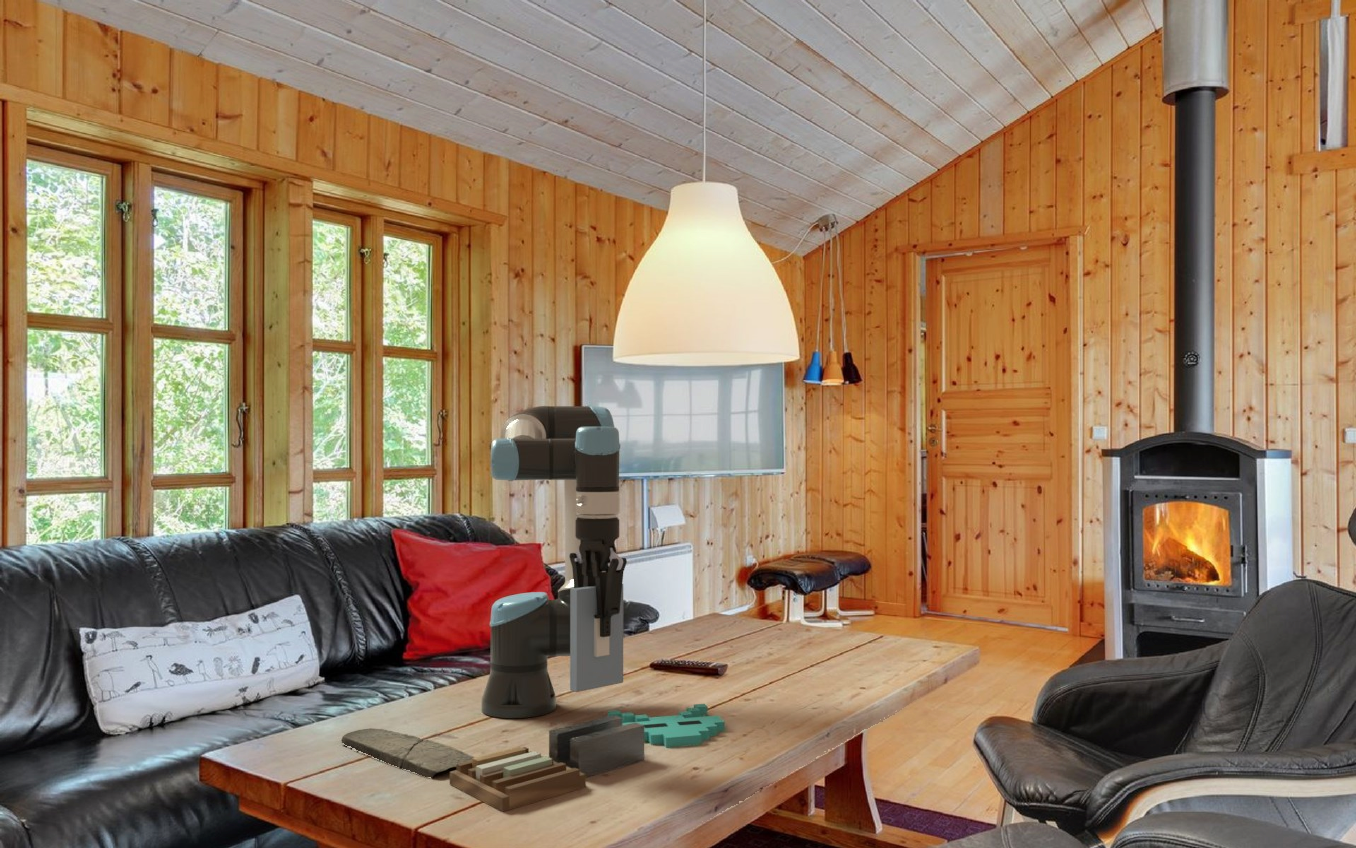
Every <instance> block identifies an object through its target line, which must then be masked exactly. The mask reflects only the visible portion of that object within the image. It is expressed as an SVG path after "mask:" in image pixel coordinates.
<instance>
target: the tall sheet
mask: <svg viewBox="0 0 1356 848" xmlns="http://www.w3.org/2000/svg"><path fill="white" fill-rule="evenodd" d="M594 615H597V598H596V586H589V587H581V588H573V589H570V656H569V658H570V659H569V663H570V665H569V666H570V667H569V676H570V678H569V688H570V689H569V690H570V691H571V692H573V693H574V692H575V693H580V692H586V691H589V690H590V691H591V690H594V689H599V688H605V687H608V686H613V685H618V684H623V683H624V583H622V592H621V602H620V612H619V614H615V615H613V616H611V627H610V628H611V634H610V636H609V655H605V656H599V657H595V656H594V618H595V617H594Z"/></svg>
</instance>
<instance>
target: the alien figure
mask: <svg viewBox="0 0 1356 848" xmlns="http://www.w3.org/2000/svg"><path fill="white" fill-rule="evenodd" d="M708 707H709V706H708V705H707V704H706V703H696V704H695V703H694V704H693V707H686V709H685V710H684V711H678V714H677V715H664V716H654V717H651V716H648V715H647V714H636V715H635V714H634V713H633V711H631V712H630V711H629V712H621V711H620V709H618V710H617V709H616V710H607V717H609V716H613V715H615V716H618V717H621V718H622V726H623V725H627V724H631V723H635V722H636V723H639V724H642V725H644V741H646V742H648V741H649V742H648V743H649V744H650V745H651V746H652V744H654V745H653V746H655V744H656V745H663V744H664V745H663V746H664V747H665V748H667V749H668V748H677V747H678V746H679V747H690V746H691V747H692V746H700V745H701V746H702V742H703V741H710V740H711V739H710V737H715V736H718V732H717V731H721V732H725V731H726V721H725V720H723V718H721V717H720V716H719V715H709V716H708V714H709V713H708V709H709V708H708ZM703 715H707V716H703Z"/></svg>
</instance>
